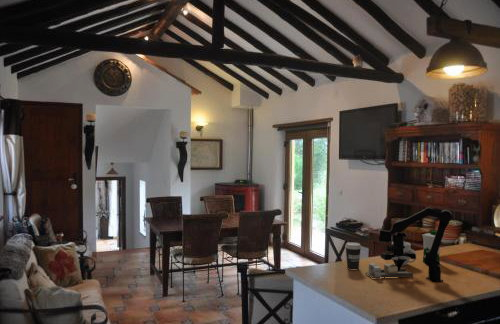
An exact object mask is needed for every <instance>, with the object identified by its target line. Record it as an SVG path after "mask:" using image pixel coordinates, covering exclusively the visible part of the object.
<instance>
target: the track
mask: <svg viewBox="0 0 500 324" xmlns="http://www.w3.org/2000/svg"><path fill="white" fill-rule="evenodd" d="M366 274H368V275H369V276H371V277H372V278H380V277H384V278H385V277H411V278H414V273H413V272H408V271H407V270H406V268H405V267H404V268H400V270H399V271H398V273H393V274H386V273H385V272H384V268H383V269H382V267H380V266H379V265H377V264H376V263H375V262H373V263H368V272H367V271H366V272H365V275H366ZM369 276H368V277H369Z"/></svg>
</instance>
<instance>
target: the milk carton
mask: <svg viewBox="0 0 500 324" xmlns="http://www.w3.org/2000/svg"><path fill="white" fill-rule="evenodd" d="M429 231H430V232H429V233H424V234H421V235H422V239H423V253H422V256H423V257H422V263H424V264H425V259H424V256H425V255H426V251H427V250H428V251H429V250H430V249H431V247H432V244H433V241H434V238H435V235H436V232H437V230H429ZM440 246H441V245H440ZM440 246H439V249H438V254H437V261H438V262H439V263H440V264H441V261H440V259H441V257H440V252H441V251H440Z"/></svg>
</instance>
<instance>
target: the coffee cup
mask: <svg viewBox="0 0 500 324" xmlns="http://www.w3.org/2000/svg"><path fill="white" fill-rule="evenodd" d="M344 248H345V256H346V267H347V268H346V269H348V268H349V269H358V270H359V268H360V260H361V259H360V258H361V249H362V245H361V243H359V242H352V241H351V242H350V241H349V242H346V243H345V245H344ZM349 269H348V270H349Z"/></svg>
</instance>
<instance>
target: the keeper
mask: <svg viewBox="0 0 500 324" xmlns="http://www.w3.org/2000/svg"><path fill="white" fill-rule="evenodd" d="M383 269H384V272H385V273H386V274H393V273H398V267H397V266H395V264H393V263H384V264H383Z"/></svg>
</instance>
